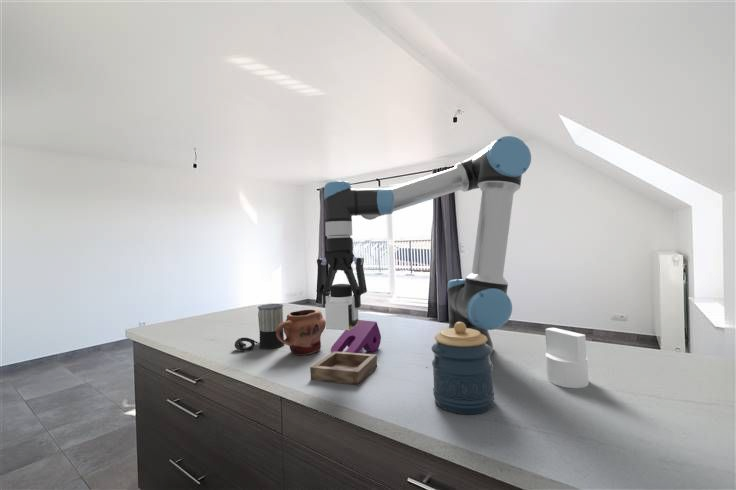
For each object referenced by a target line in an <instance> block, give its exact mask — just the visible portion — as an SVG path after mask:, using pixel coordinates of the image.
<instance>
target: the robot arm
mask: <svg viewBox="0 0 736 490" xmlns="http://www.w3.org/2000/svg"><path fill="white" fill-rule="evenodd" d="M531 162H532V154H531V150H530V148H529V147H528V145H527V144H526V143H525V142H524V140H522V139H520V138H519V137H516V136H511V135H504V136H501V137H499V138H496V139H495V140H492V141H491V142H490V143H489V144H488V145H487V146H486V147H484V148H483V149H482V150H480V151H478V152H477V153H476V154H474V155H473V156H471V157H469V158H467V159H465V160H463V161H460V162H458V163H457V162H456V163H455V164H454V167H452V168H449V169H446V170H443V171H439V172H436V173H433V174H430V175H427V176H423V177H420V178H418V179H414V180H410V181H408V182H405V183H401V184H399V185H395V186H393V187H388V188H386V187H384V188H383V187H379V188H377V187H376V188H352V186H351V183H350V182H349V181H346V180H343V181H342V180H333V181H329V182H327V183H325V185H324V187H323V188H324V190H323V192H324V197H323V203H324V221H325V222H324V224H325V225H324V226H325V230H324V231H325V237H327V238H326V239H325V248H326V249H325V251H326V255H325V257H323V258H318V259H316V264H317V267H318V268H317V278H316V293H317V294H320V295H322V302H323V304H322V305H323V308H325V304H326V303H328V302H331V301H332V300H331V291H330V287H331V286H332V285H334V284H333V283H334V280H335V277H336V274H337V273H338V271H341V272H342V271H343V273H344V274H345V276H346V278H347V282H348V284H349V285H350V287H351V289H352V297H351V304H352V320H354V321H355V320H356V319H358V320H359V308H361V307H362V306H361V305H362V304H361V303H362V302H361V301H362V299H361V296H362V295H364V294H366V293H367V292H368V289H367V283H366V277H365V269H364V262H365V258H364V257H356V256H355V254H354V243H353V242H354V241H353V240H354V239H353V237H351V236H353V222H352V221H353V219H352V217H353V216H361V217H362V218H363V219H366V220H368V221H371V220H374V219H377V218H379V217H381V216H386V215H391V214H393V212H396V211H401V210H402V209H406V208H408V207H411V206H415V205H418V204H421V203H423V202H424V203H425V202H427V201H431V200H433V199H436V198H440V197H442V196H445V195H449V194H452V193H456V192H458V191H461V192H464V193H465V192H469V191H472V190H475V189H476V190H477V189H480V191H481V196H480V197H481V198H480V205H479V206H480V208H479V213H478V223H477V227H476V228H477V229H476V237H475V245H474V250H473V251H474V253H473V254H474V255H473V260H472V261H473V262H472V268H471V272H470V273H469V274H468V275H466V276H465V278H462V279H450V280H449V281H448V282H447V289H446V293H447V303H448V305H447V306H448V309H447V310H448V328H447V329H449V328H454V325H455V323H456V322H463V323H464V324H465V325H466V328H469V329H474V330H477V331H479V332H480V333H481V334H483V335H485V336H486V337H487V339H488V340H487V342H486V344H487V345H489V346H490V347H491V348H492V352H494V343H493V341H492V338H491V335H490V333H489V331H492V330H497V329H500V328H501V327H503V326H504V325H506V324H507V322H508V321H510V320H509V319H510V318H511V316H512V312H513V304H512V300H511V298H510V297H509V295H508V293H507V292H508V288H509V287H508V286H509V282H507V280H506V279H505V277H504V272H505V263H506V257H507V249H508V241H509V234H510V225H511V218H512V217H511V215H512V207H513V200H514V194H515V193H516V192H517V191H518V190H520V188H521V185H522V176H523V174H524V173H526V171H528V169H529V167H530V166H531ZM327 264H328V265H329V267H328V270H327V266H326V265H327ZM352 264H354V265H355V272H356V277H357V279H356V277H355V274H354V269H353V267H352ZM326 270H327V271H326ZM326 272H328V273H327V276H326Z"/></svg>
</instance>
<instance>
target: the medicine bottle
mask: <svg viewBox="0 0 736 490" xmlns="http://www.w3.org/2000/svg"><path fill="white" fill-rule="evenodd" d="M330 293H331V294H330V295H331V300H332V301H331V302H328V303H326V304H325V307H324V309H325V311H324V312H325V314H324V315H325V321H326V325H325V329H326V330H337V331H345V330H350V329H352V328H353V327H355V326H356V325H358V324H359V322H358V320H359V318H358V319H356V320H355V321H354V320H352V304H351V297H352V296H353V292H352V289H351V287H350V284H349V283H335V284H332V286H331V287H330Z"/></svg>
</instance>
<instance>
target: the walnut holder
mask: <svg viewBox="0 0 736 490" xmlns="http://www.w3.org/2000/svg"><path fill="white" fill-rule="evenodd" d="M377 367H378V357H377V354H376V353H375V354H373V353H361V352H360V353H349V352H345V351H342V352H336V351H333V352H332V353H331V352H330V353H329V354H327V355H326V356H324V357H323V358H322V359H320V360H318V361H317V362H316V363H315V364H313V365H311V366H310V367H309V369H310V380H311V381H318V382H325V383H327V382H328V383H337V384H345V385H355V386H360V385H361V384H362V382H364V381H365V380H366V378H367V377H368V376H369V375H370V374H371V373H372V372H373V371H374V370H375V369H376V368H377Z"/></svg>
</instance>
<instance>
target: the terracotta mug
mask: <svg viewBox="0 0 736 490" xmlns="http://www.w3.org/2000/svg"><path fill="white" fill-rule="evenodd" d="M282 329H283V334H284V336H285V337H286V338H284V339H282V338H281V336H280V332H281V330H282ZM325 329H326V319H324V316H323V314H322V312H321V311H320V310H318V309H302V310H295V311H291V312H289V313H288V314H287V315H286V320H285V321H283V322H282V323H281V324H279V325H278V327H277V329H276V336H277V338H278V339H279V340H280V341H281V342H282V343H284V345H287V346H289V350H290V352H291V353H292V354H294V355H298V356H306V355H310V354H315V353H317V352H318V351H320V350H321V349H322V348H321V347H322V344H321V343H322V342H321V336H322V334H323V332H324V331H325Z"/></svg>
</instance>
